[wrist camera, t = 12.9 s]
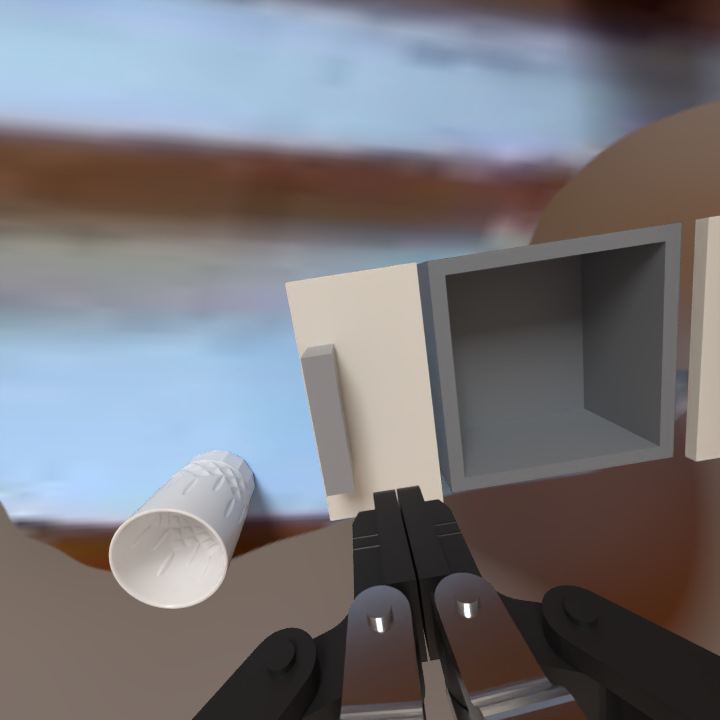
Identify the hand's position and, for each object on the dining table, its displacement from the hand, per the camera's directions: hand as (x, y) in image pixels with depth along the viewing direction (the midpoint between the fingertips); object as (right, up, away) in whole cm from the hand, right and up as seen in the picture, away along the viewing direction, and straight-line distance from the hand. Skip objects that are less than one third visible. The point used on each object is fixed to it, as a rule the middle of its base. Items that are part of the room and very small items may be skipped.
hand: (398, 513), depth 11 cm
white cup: (-15, -7, +23) cm, 28 cm away
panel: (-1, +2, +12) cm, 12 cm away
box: (+12, +6, +21) cm, 25 cm away
